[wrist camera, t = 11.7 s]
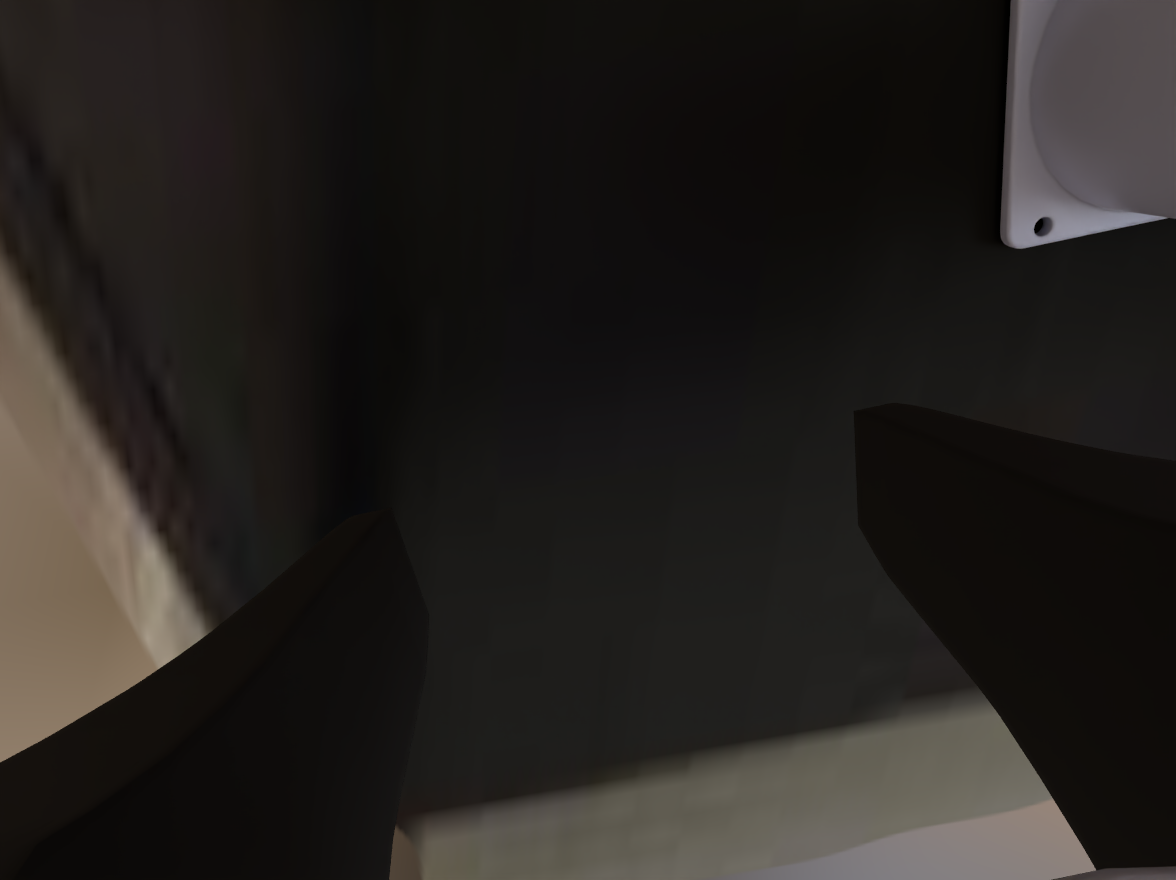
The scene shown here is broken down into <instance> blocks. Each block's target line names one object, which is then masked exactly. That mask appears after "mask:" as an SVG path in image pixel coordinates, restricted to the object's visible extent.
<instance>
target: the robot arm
mask: <svg viewBox="0 0 1176 880" xmlns="http://www.w3.org/2000/svg"><path fill="white" fill-rule="evenodd" d="M1041 218H1043V226H1042V228H1041V230H1040V231H1039V232H1038V233H1036V234H1035V233H1034V226H1035V223H1036V222H1037V221H1038V220H1039V219H1041ZM1166 218H1174V219H1176V0H1011V6H1010V28H1009V50H1008V71H1007V93H1006V115H1005V136H1004V158H1003V180H1002V201H1001V223H1000V236H1001V240H1002V241H1003V243H1004V244H1005V245H1007V246H1009V247H1013V248H1017V249H1022V248H1028V247H1033V246H1037V245H1042V244H1047V243H1052V242H1057V241H1061V240H1066V239H1071V238H1076V237H1080V236H1085V235H1090V234H1095V233H1099V232H1104V231H1109V230H1114V229H1118V228H1123V227H1128V226H1133V225H1137V224H1142V223H1147V222H1152V221H1156V220H1161V219H1166ZM854 428H855V453H856V478H857V504H858V525H859V527H860V529H861V531H862V532H863V534H864V536H865V538H866V540H867V541H868V543H869V545H870V547H871V548H872V550H873V552H874V554H875V555H876V557H877V559H878V560H879V562H880V563H881V565H882V567H883V568H884V570H885V572H886V573H887V575H888V576H889V577H890V579H891V580H892V581H893V583H894V584H895V585H896V586H897V588H898V589H899V590H900V591H901V593H902V594H903V595H904V596H905V598H906V599H907V600H908V601H909V603H910V604H911V605H912V606H913V608H914V609H915V610H916V611H917V613H918V614H919V615H920V616H921V618H922V619H923V620H924V621H925V622H926V624H927V625H928V626H929V627H930V629H931V630H932V631H933V632H934V633H935V635H936V636H937V637H938V638H939V640H940V641H941V642H942V643H943V644H944V646H945V647H946V648H947V649H948V651H949V652H950V653H951V654H952V655H953V657H954V658H955V659H956V660H957V662H958V663H959V664H960V665H961V666H962V668H963V669H964V670H965V671H966V673H967V674H968V675H969V676H970V677H971V679H972V680H973V681H974V682H975V684H976V685H977V686H978V687H979V689H980V690H981V691H982V693H983V694H984V695H985V697H986V698H987V699H988V701H989V702H990V703H991V705H992V706H993V707H994V709H995V710H996V711H997V713H998V714H999V716H1000V717H1001V719H1002V720H1003V722H1004V723H1005V725H1006V726H1007V728H1008V729H1009V731H1010V732H1011V734H1012V735H1013V737H1014V738H1015V740H1016V741H1017V743H1018V744H1019V746H1020V748H1021V749H1022V751H1023V752H1024V754H1025V755H1026V757H1027V758H1028V760H1029V761H1030V763H1031V764H1032V766H1033V767H1034V769H1035V770H1036V772H1037V774H1038V775H1039V777H1040V778H1041V780H1042V781H1043V783H1044V785H1045V786H1046V788H1047V790H1048V791H1049V793H1050V794H1051V796H1052V798H1053V799H1054V801H1055V802H1056V804H1057V806H1058V807H1059V809H1060V810H1061V812H1062V814H1063V815H1064V817H1065V818H1066V820H1067V822H1068V823H1069V825H1070V827H1071V828H1072V830H1073V832H1074V833H1075V835H1076V836H1077V838H1078V840H1079V841H1080V843H1081V844H1082V846H1083V848H1084V849H1085V851H1086V853H1087V854H1088V856H1089V858H1090V860H1091V861H1092V863H1093V865H1094V867H1095V868H1096V871H1091V872H1087V873H1082V874H1077V875H1072V876H1067V877H1063V878H1058V879H1053V880H1176V461H1171V460H1164V459H1157V458H1150V457H1143V456H1136V455H1131V454H1125V453H1119V452H1113V451H1108V450H1103V449H1098V448H1093V447H1088V446H1083V445H1078V444H1073V443H1069V442H1064V441H1059V440H1054V439H1050V438H1046V437H1041V436H1037V435H1033V434H1028V433H1024V432H1020V431H1016V430H1012V429H1008V428H1004V427H1000V426H996V425H992V424H988V423H984V422H980V421H976V420H972V419H968V418H965V417H961V416H957V415H953V414H949V413H945V412H941V411H936V410H932V409H928V408H923V407H918V406H913V405H907V404H899V403H890V404H886V405H881V406H876V407H871V408H867V409H862V410H857V411H854ZM428 626H429V613H428V611H427V608H426V605H425V602H424V599H423V596H422V594H421V591H420V588H419V585H418V582H417V579H416V576H415V574H414V571H413V568H412V565H411V562H410V559H409V557H408V554H407V551H406V548H405V545H404V542H403V540H402V537H401V534H400V531H399V528H398V525H397V523H396V520H395V517H394V514H393V511H392V508H388V509H384V510H379V511H374V512H369V513H364V514H360V515H355V516H352V517H350V518H349V519H347V520H345V521H344V522H343V523H341V524H340V525H339V526H337V527H336V528H335V529H333V530H332V531H331V532H330V533H329V534H327V535H326V536H325V537H324V538H323V539H321V540H320V541H319V542H318V543H317V544H316V545H314V546H313V547H312V548H311V549H310V550H309V551H308V552H306V553H305V554H304V555H303V556H302V557H301V558H300V559H298V560H297V561H296V562H295V563H294V564H293V565H292V566H290V567H289V568H288V569H287V570H286V571H285V572H283V573H282V574H281V575H280V576H279V577H278V578H277V579H275V580H274V581H273V582H272V583H271V584H270V585H268V586H267V587H266V588H265V589H264V590H263V591H261V592H260V593H259V594H258V595H256V596H255V597H254V598H253V599H251V600H250V601H249V602H248V603H246V604H245V605H244V606H243V607H241V608H240V609H239V610H238V611H236V612H235V613H234V614H233V615H231V616H230V617H229V618H228V619H227V620H225V621H224V622H223V623H222V624H220V625H219V626H218V627H217V628H215V629H214V630H213V631H212V632H210V633H209V634H208V635H206V636H205V637H204V638H202V639H201V640H200V641H198V642H197V643H195V644H194V645H193V646H191V647H190V648H189V649H187V650H186V651H184V652H183V653H182V654H180V655H179V656H177V657H176V658H174V659H173V660H171V661H170V662H169V663H167V664H166V665H164V666H163V667H161V668H160V669H158V670H157V671H155V672H154V673H152V674H151V675H150V676H148V677H146V678H145V679H144V680H142V681H140V682H139V683H137V684H136V685H135V686H133V687H131V688H130V689H128V690H126V691H125V692H123V693H121V694H120V695H118V696H116V697H115V698H113V699H111V700H110V701H108V702H106V703H105V704H103V705H101V706H99V707H98V708H96V709H95V710H93V711H91V712H90V713H88V714H86V715H84V716H83V717H81V718H79V719H78V720H76V721H75V722H73V723H71V724H69V725H68V726H66V727H64V728H62V729H61V730H59V731H57V732H56V733H54V734H52V735H51V736H49V737H47V738H45V739H43V740H42V741H40V742H38V743H36V744H34V745H33V746H30V747H29V748H27V749H25V750H23V751H21V752H19V753H17V754H16V755H14V756H12V757H10V758H8V759H6V760H4V761H2V762H0V880H389V874H390V864H391V854H392V844H393V836H394V830H395V824H396V818H397V811H398V806H399V801H400V796H401V791H402V786H403V782H404V777H405V772H406V767H407V762H408V758H409V753H410V748H411V743H412V738H413V734H414V729H415V724H416V719H417V714H418V709H419V704H420V699H421V694H422V689H423V684H424V679H425V673H426V662H427V648H428Z"/></svg>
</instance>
